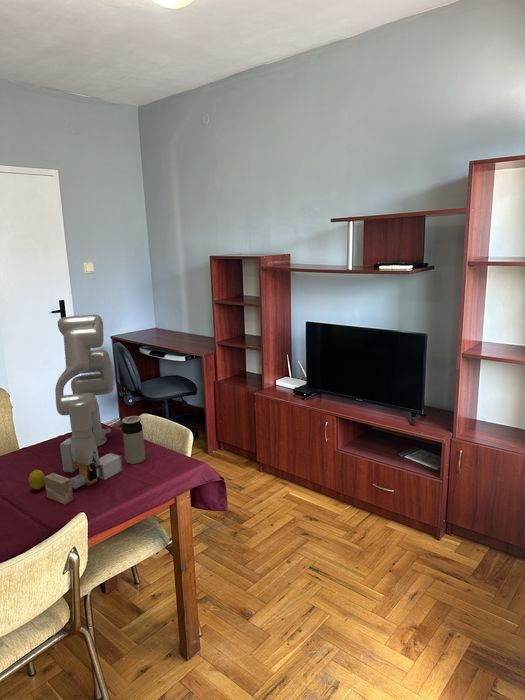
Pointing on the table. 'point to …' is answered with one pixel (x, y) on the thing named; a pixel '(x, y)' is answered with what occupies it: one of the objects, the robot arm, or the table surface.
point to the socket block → (58, 488)
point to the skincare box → (67, 456)
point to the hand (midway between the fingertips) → (88, 477)
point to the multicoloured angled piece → (84, 476)
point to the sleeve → (110, 465)
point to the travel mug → (133, 439)
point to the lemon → (37, 479)
